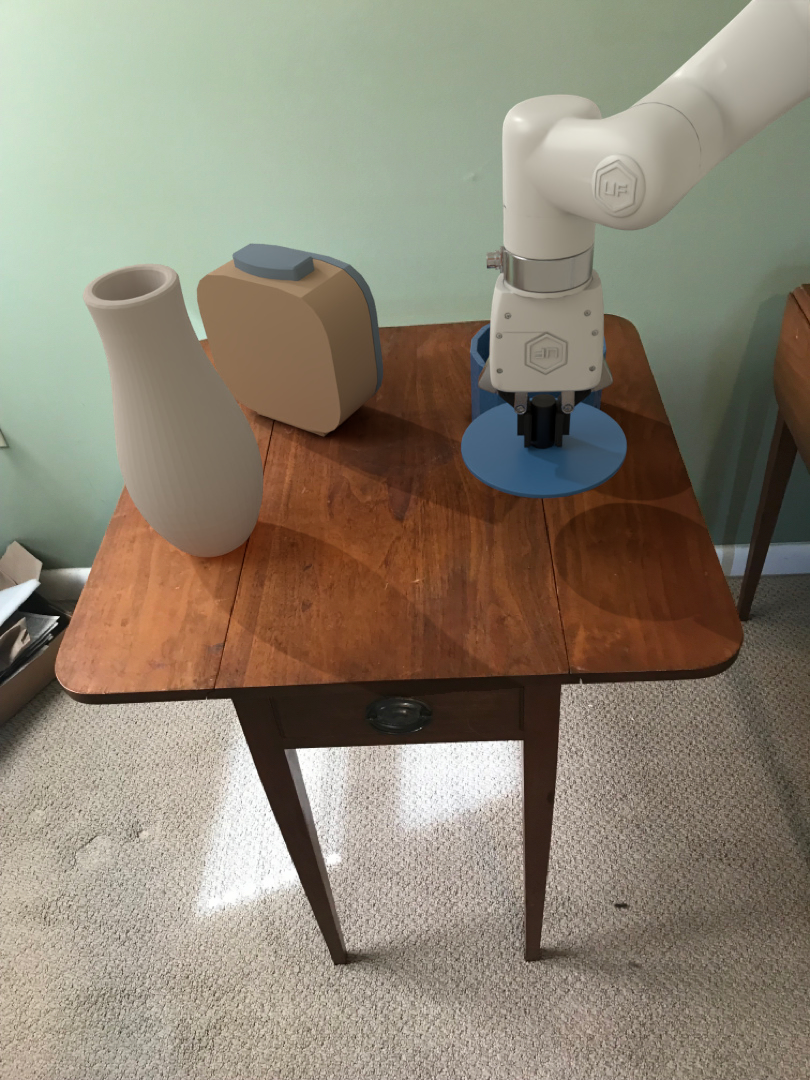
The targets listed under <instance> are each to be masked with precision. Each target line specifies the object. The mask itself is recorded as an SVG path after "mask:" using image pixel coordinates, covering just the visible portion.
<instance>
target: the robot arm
mask: <svg viewBox="0 0 810 1080" xmlns="http://www.w3.org/2000/svg"><path fill="white" fill-rule="evenodd" d="M808 98H810V0H750V2H749V3H748V4H747V5H746V6H744V8H743V9H741V11H740V12H738V14H737V15H736V16H734V17H733V19H731V20H730V21H729V22H728V23H727V24H726V25H725V26H724V27H723V28H721V30H720V31H719V32H717V33H716V34H715V35H714V36H713V37H712V38H711V39H710V40H708V41H707V42H706V43H705V45H703V46H702V47H701V48H700V49H699V50H697V51H696V52H695V53H694V54H692V56H691V57H690V58H689V59H688V60H687V61H685V62H684V63H683V64H682V65H681V66H680V67H679V68H678V69H677V70H675V71H674V72H673V73H672V74H671V75H670V76H668V77H667V78H666V79H665V80H664V81H663V82H661V83H660V84H659V85H657V87H656V88H654V89H653V90H652V91H651V92H649V93H647V94H646V95H645V96H643V97H641V99H638V100H637V101H636V102H635V103H634V104H633V105H631V106H630V107H629V108H627V109H625V110H623V111H620V112H618V113H616V114H612V115H611V116H607V117H604V118H603V115H602V112H601V109H600V108H599V106H598V104H596V103H595V102H594V101H593V100H591V99H589V98H587V97H584V96H580V95H576V94H564V93H562V94H561V93H560V94H559V93H557V94H546V95H540V96H535V97H531V98H527V99H525V100H523V101H521V102H518V103H516V104H515V105H513V107H511V108H510V109H509V110H508V112H507V113H506V115H505V117H504V120H503V122H502V123H503V124H502V132H501V133H502V134H501V136H502V137H501V148H502V149H501V153H502V155H501V156H502V163H501V165H502V230H503V231H502V233H503V235H502V236H503V245H501V246H499V249H496V250H495V251H488V252H486V269H489V270H490V269H495V271H499V275H498V276H497V277H496V278H497V279H496V282H495V286H494V289H493V295H492V301H491V309H490V310H491V312H490V313H491V314H490V355H489V357H488V359H487V361H486V363H485V365H484V367H483V369H482V371H481V373H480V375H479V379H478V387H479V388H480V389H483V390H485V391H488V392H490V393H493V394H498V395H499V396H500V397H501V398H502V399H503V400H504V401H506V402H507V403H508V404H509V405H511V406H512V407H513V408H514V411H515V413H517V436H524V448H529V446H531V428H532V409H531V401H530V397H529V396H528V392H559V391H561V395H559V396H558V397H557V400H556V416H555V446H557V447H562V438H563V435H569V432H570V415H571V413H572V412H573V411H574V407H575V406H576V405H578V404H579V403H580V402H581V401H583V400H584V399H585V398H586V397H588V396H589V395H590V394H591V393H592V392H596V391H599V390H601V389H602V390H604V389H606V388H609V387H611V386H612V385H613V384H614V380H613V379H614V378H613V373H612V371H611V368H610V366H609V364H608V361H607V359H605V358H604V356H603V340H604V337H605V303H604V293H603V286H602V285H603V284H602V280H601V277H600V275H599V273H598V271H597V270H595V269H594V257H595V256H594V255H595V238H596V224H597V225H601V226H603V227H607V228H610V229H614V230H619V231H639V230H643V229H646V228H649V227H651V226H653V225H655V224H656V223H658V222H660V221H661V220H662V219H663V218H665V217H666V216H667V215H668V214H669V213H670V212H671V211H672V210H673V209H674V208H675V207H676V206H677V205H678V204H679V203H681V201H682V200H683V199H684V198H685V196H686V195H687V194H688V193H689V192H690V191H691V190H692V189H693V188H694V187H695V186H696V185H697V184H698V183H699V182H701V180H703V178H704V177H705V176H707V175H708V174H709V173H710V172H711V171H712V170H713V169H715V168H716V167H717V166H718V165H720V164H721V163H722V162H723V161H724V160H725V159H727V158H728V157H730V156H731V155H732V154H734V153H735V152H736V151H737V150H738V149H740V148H742V146H744V145H746V144H747V143H748V142H749V141H751V140H752V139H753V138H754V137H756V136H757V135H758V134H760V133H761V132H762V131H764V130H765V129H766V128H767V127H769V126H770V125H772V124H773V123H775V122H776V121H777V120H778V119H780V118H781V117H783V116H784V115H785V114H786V113H788V112H790V111H791V110H792V109H793V108H795V107H797V106H798V105H800V104H801V103H802V102H804V101H806V100H808ZM500 370H501V371H500Z"/></svg>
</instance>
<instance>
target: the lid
mask: <svg viewBox="0 0 810 1080" xmlns="http://www.w3.org/2000/svg"><path fill="white" fill-rule="evenodd" d="M556 400H557V398H555V397H553V396H552V395H549V394H540V395H536V396H534V397H533V398H530V401H531V409H532V428H531V446H529V448H524V436H517V413H515V411H514V408H513V407H512V406H511V405H509V404H508V403H505V404H502V405H499V406H496V407H494V408H492V409H490V410H488V411H486V412H485V413H483V414H481V415H480V416H479V417H477V418H476V419H475V420H474V421H473V422H472V421H471V423H469V425H468V427H466V429H465V431H464V433H463V435H462V438H461V442H460V452H461V458H462V462H463V463H464V465H465V467H466V468H467V469H468V471H469V472H470V473H471V474H472V476H474V478H476V479H477V480H479V482H481V483H483V484H484V485H486V486H488V487H490V488H492V489H494V490H495V491H499V492H502V493H505V494H508V495H510V496H511V495H512V496H516V497H522V498H527V499H529V498H530V499H558V498H566V497H571V496H575V495H579V494H582V493H586V492H588V491H591V490H593V489H596V488H598V487H599V486H602V485H603V484H604V483H606V482H607V481H609V480H610V479H611V478H613V477H614V476H615V475H616V474H617V473H618V471H620V469H621V468H622V466H623V464H624V462H625V460H626V456H627V450H628V444H627V443H628V442H627V438H626V435H625V433H624V431H623V428H621V426H620V425H619V423H618V422H617V421H615V419H613V417H611V416H610V415H609V414H607V413H606V412H604V411H603V410H601V409H600V410H599V409H597V408H594V407H592V406H590V405H587V404H584V403H581V402H580V403H579V404H578V405H576V406H575V407H574V411H573V412H572V413H571V415H570V432H569V435H563V438H562V447H557V446H555V416H556Z"/></svg>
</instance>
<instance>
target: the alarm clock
mask: <svg viewBox="0 0 810 1080" xmlns="http://www.w3.org/2000/svg"><path fill="white" fill-rule="evenodd" d="M231 255H232V259H231V260H229V261H227V262H225V263H224V264H222V265H221V266H218V267H217V268H216V269H214V270H212V271H210V272H209V273H208V274H206V275H204V276H203V277H202V278H201V279H199V281H198V284H197V287H196V301H197V307H198V311H199V316H200V318H201V323H202V325H203V329H204V332H205V336H206V339H207V343H208V347H209V349H210V354H211V357H212V360H213V365H214V367H215V369H216V371H217V372H218V374H219V375H220V377H221V378H222V380H223V381H224V383H225V384H226V386H227V387H228V389H229V390H230V392H231V393H232V395H233V396H234V398H235V400H236V401H237V402H238V403H240V404H241V405H242V406H244V407H246V408H248V409H250V410H252V411H254V412H256V414H257V415H260V416H263V417H266V418H268V419H271V420H274V421H277V422H280V423H283V424H286V425H289V426H292V427H295V428H298V429H300V430H303V431H307V432H309V433H312V434H315V435H318V436H321V437H325V436H327V435H328V434H329V433H330V432H333V431H335V430H336V429H337V428H338V427H339V426H341V425H342V424H343V423H344V422H346V421H347V419H349V418H350V417H351V416H352V415H353V414H354V413H356V411H358V410H359V409H360V408H361V407H362V406H363V405H364V404H366V403H367V402H368V401H369V400H371V398H372V397H374V396H375V395H376V394H377V393H378V391H379V390H380V389H381V387H382V384H383V380H384V361H383V351H382V345H381V344H382V343H381V336H380V329H379V327H380V326H379V320H378V311H377V306H376V302H375V298H374V296H373V292H372V291H371V288H370V286H369V284H368V282H367V281H366V279H365V278H364V276H363V275H362V274H361V273H360V272H359V271H358V270H357V269H356V268H354V266H352V264H350V263H347V262H344V261H342V260H339V259H337V258H335V257H332V256H329V255H326V254H325V255H324V254H321V253H317V252H310V251H305V250H301V249H296V248H291V247H287V246H283V245H282V246H281V245H277V244H268V243H267V244H266V243H248V244H247V245H245V246H243V247H242V248H240V249H238V250H237V251H235V252H233V253H232V254H231Z"/></svg>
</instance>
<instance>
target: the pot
mask: <svg viewBox="0 0 810 1080" xmlns="http://www.w3.org/2000/svg"><path fill="white" fill-rule="evenodd" d="M470 342H471V343H470V350H469V359H470V364H469V365H470V396H471V399H470V400H471V423H472V422H473V421H474V420H475V419H476V418H477V417H479V416H480V415H481V414H483V413H485V412H486V411H488V410H490V409H492V408H494V407H496V406H499V405H502V404H505V403H507V402H506V401H504V400H503V399H502V398H501V397H500V396H499V395H498V394H493V393H490V392H488V391H485V390H483V389H480V388H479V387H478V379H479V375H480V373H481V371H482V369H483V367H484V365H485V363H486V361H487V359H488V357H489V355H490V323H488V324H485V325H483V326H482V327H481V328H480V329H479V330H478V331H477V332H476V334H475V335H474V336H473V337H472V338H471V341H470ZM603 356H604V358H605V360H607V359H606V358H607V343H606V338H605V336H604V340H603ZM500 371H501V370H500ZM540 394H549V395H552V396H553V397H555V398H557V397H558V396H559V395H561V391H559V392H528V396H529V397H530V398H533V397H534V396H536V395H540ZM602 394H603V389H601V390H599V391H596V392H592V393H591V394H590V395H589V396H588V397H586V398H585V399H584V400H583V401H581V403H584V404H587V405H590V406H592V407H594V408H597V409H599V410H601V406H602V405H601V402H602Z"/></svg>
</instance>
